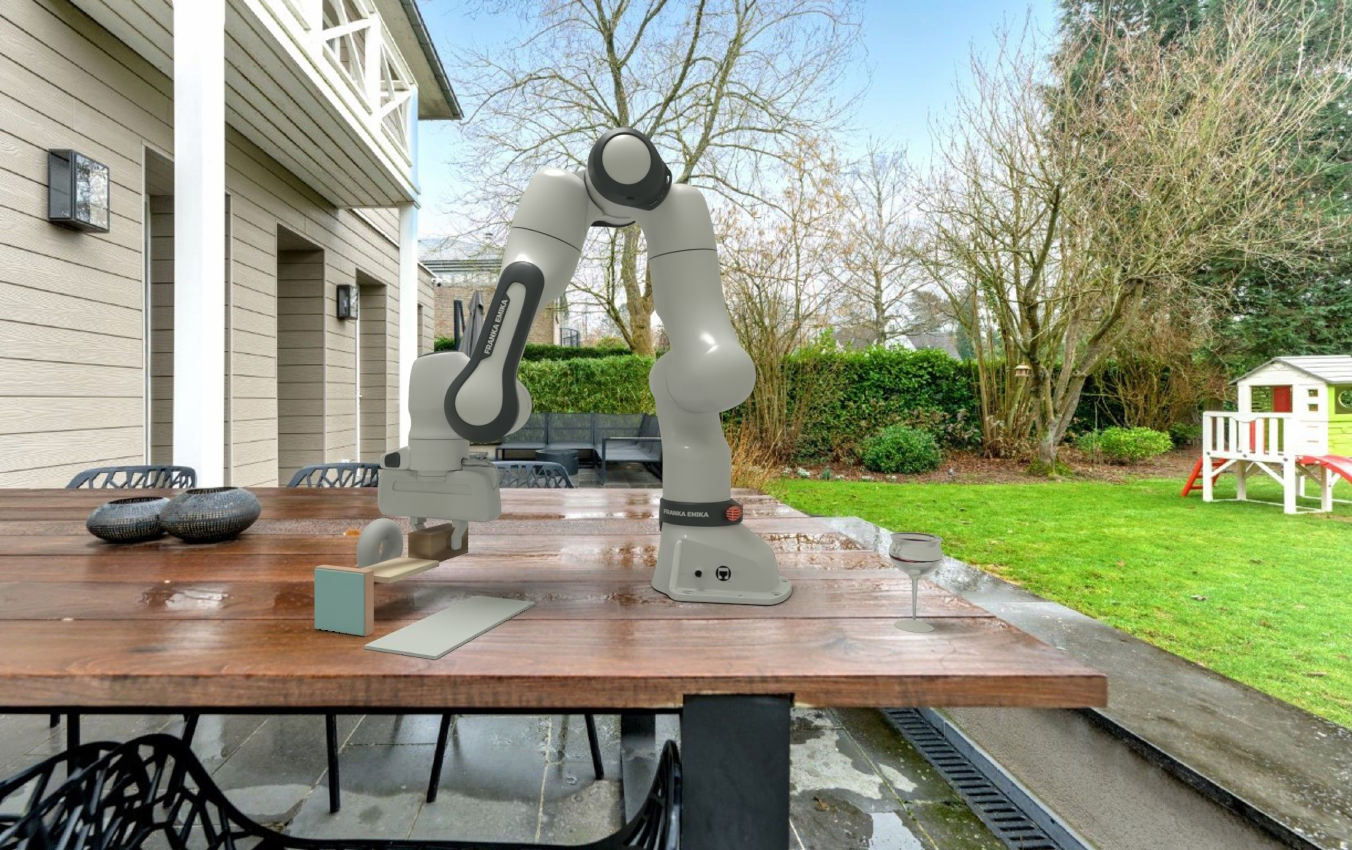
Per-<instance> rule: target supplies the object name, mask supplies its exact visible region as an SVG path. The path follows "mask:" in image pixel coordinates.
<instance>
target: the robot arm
mask: <svg viewBox="0 0 1352 850" xmlns="http://www.w3.org/2000/svg"><path fill="white" fill-rule="evenodd" d="M588 154H589V155H588V158H587V164H586V167H585V168H584V169H581V170H580V171H579V170H578V171H569V170H567V169H564V168H560V167H545V168H542V169H541V170H538V171H537V172H536V173H535V174H534V175H533V176H532V178H531V180H530V181H529V183H528V185H527V187H526V188H525V191H524V193H523V195H522V196H521V199H520V201H519V204H518V206H517V209H516V211H515V214H514V216H513V220H512V223H511V225H510V228H509V229H510V230H509V232H508V235H507V236H508V237H507V238H506V239H507V240H506V244H505V248H504V252H503V256H502V261H501V267H500V271H499V275H498V279H497V283H496V289H495V291H494V294H493V297H492V299H491V301H490V305H489V308H488V310H487V313H486V316H485V319H484V321H483V323H482V324H483V325H482V328H481V331H480V333H479V336H478V340H477V342H476V345H475V347H474V349H473V353H472V355H471V356H470V357H469V356H468V355H467V354H465V352H463V351H459V350H452V349H451V350H438V351H433V352H428V353H424V354H421V355H420V356H418V357H417V358H416V359H415V360H414V361H413V363H412V365H411V370H410V376H409V382H408V383H409V385H408V397H407V399H408V401H407V402H408V403H407V410H408V414H409V417H410V428H409V431H408V435H407V445H406V446H403V447H400V448H397V449H394V450H391V451H389V452H385V453H382V454H381V455H380V457H379V466H380V468H381V469H383V470H381V472H380V473H379V476H378V480H377V481H378V483H377V508H378V510H379V512H380V513H381V514H382V515H383V516H395V517H405V518H406V517H407V518H408V517H409V524H410V527H411V529H412V530H413V531H412V532H414V531H417V530H421V529H425V528H426V526H425V523H427V519H434V520H446V521H447V520H448V521H449V520H450V521H451V523H452V527H455V530H454V532H453V534H452V536H451V537H448V538H446V543H447V545H446V548H447V549H453V550H456V549H460V548H461V540H462V536H463V534H464V532H465V531H466V529H467V527H468V528H469V522H472V523H473V522H474V523H490V522H492V521H496V520H497V519H499V518H500V516H501V513H502V499H501V492H500V491H501V489H500V484H499V481H500V480H499V479H500V471H499V468H498V467H497V466H496V464H495V463H493V462H492V461H491V460H489V459H486V458H484V459H483V458H482V459H476V458H470V442H471V443H477V444H489V443H493V442H495V441H498V440H500V439H502V438H503V437H506V436H509V435H511V434H513V433H516V432H517V431H519V430H520V429H522V428H523V427H524V426H525V425H526V424H527V423H528V421H529V419H530V417H531V415H532V411H533V398H532V395H531V393H530V391H529V389H528V388H527V387H526V386H525V385H524V383H522V382H521V381H519V380H518V379H517V377H518V376H517V375H518V372H519V371H518V370H519V368H520V364H521V361H522V358H523V355H524V353H525V350H526V346H527V343H528V341H529V337H530V334H531V332H532V328H533V326H534V323H535V322H536V319H537V318H538V316H539V315H540V313H541V312H542V311H543V310H544V309H545V307H546V306H548V305H549V304H550V303H552V302H554V301H555V300H557V299H559V298H560V297H561V296H563V295H564V294H565V292H566V291H567V289H568V287H569V285H570V283H571V281H572V279H573V277H574V274H575V272H576V269H577V267H578V265H579V262H580V257H581V256H582V255H581V254H582V251H583V249H584V244H585V241H586V237H587V235H588V232H589V229H590V228H591V227H594V228H612V229H613V228H614V229H619V228H620V229H621V228H628V227H629V226H631V225H634V224H637V225H638V226H639V227H640V229H641V231H642V233H643V236H644V239H645V242H646V250H647V252H646V253H647V261H648V269H649V275H650V283H651V290H652V299H653V300H652V301H653V305H654V306H653V307H654V311H655V313H656V314H657V316H658V317H659V319H660V321H661V322H662V325H663V328H664V329H665V332H666V335H667V337H668V342H669V344H670V347H671V348H670V350H668V351H666V352H665V353H664V354H663V355H661V356H660V357H659V358H658V359H657V360H656V361H655V362H654V364H653V365H652V367H651V369H650V371H649V374H648V386H649V390H650V393H651V394H652V396H653V398H654V403H655V409H656V416H657V421H658V423H657V424H658V426H659V433H660V438H661V448H662V450H661V451H662V496H661V497H660V499H659V508H658V525H659V526H658V527H659V532H660V537H659V538H660V539H659V540H660V541H659V547H658V555H657V561H656V565H655V570H654V573H653V576H652V579H651V583H650V584H651V586H652V588H654V589H655V590H656V591H659V592H661V593H663V594H665V595H668V597H669V598H670V599H672V600H674V601H678V602H679V601H680V602H700V603H702V602H703V603H704V602H705V603H720V604H721V603H722V604H743V605H744V604H746V605H747V604H748V605H765V606H766V605H767V606H769V605H776V604H780V603H781V602H784V601H786V600H787V599H789V597H790V596H791V595H792V592H793V584H792V582H791V580H790V579H789V578H787V577H785V576H782V575H779V568H778V561H777V557H776V553H775V551H774V549H773V547H771V545H770V544H768V543H767V542H766V541H764V540H763V539H762V538H761V537H759V536H758V535H757V534H756V533H755V532H753V531H752V530H751V529H750V528H749V527H748V526H746V525H745V524H744V523H743V522H744V520H743V519H744V510H745V508H744V507H745V505H744V503H743V502H741V503H739V502H738V501H736V500H734V499H733V498H732V496H731V495H732V493H731V492H732V450H731V447H730V444H729V443H728V441H727V440H726V438H725V435H724V431H723V428H722V423H721V418H720V413H723V412H726V411H728V410H731V409H733V408H736V407H737V406H739V405H742V404H743V403H744V402H745V401H746V400H747V399H748V398H749V397H750V395H751V394H752V392H753V390H754V388H755V384H756V380H757V378H756V377H757V374H756V371H757V370H756V367H755V363H754V361H753V359H752V357H751V355H750V354H749V353H748V352H747V351H746V350H745V349H744V348H743V347H742V345H741V343H740V342H739V341H740V340H738V336H737V334H736V332H735V329H734V327H733V324H732V322H731V319H730V316H729V313H728V310H727V307H726V306H727V305H726V302H725V298H724V291H723V285H722V277H721V270H720V263H719V254H718V247H717V241H716V240H717V239H716V234H715V229H714V226H713V221H712V216H711V213H710V210H709V206H708V204H707V201H706V198H705V195H704V194H703V193H702V192H701V190H700V189H698V188H697V187H695V186H693V185H690V184H687V183H673V173H672V171H671V169H670V168H669V167H668V165H667V164H666V162H665V161H664V160H663V158H662V156H661V155H660V153H659V150H658V149H657V147H656V146H655V144H654V143H653V142H652V140H651V139H650V138H649V137H648V136H647V135H645V133H643V132H642V131H641V130H637V129H635V128H633V127H627V126H625V127H624V126H621V127H617V128H613V129H610V130H608V131H606V132H605V133H603V134H602V135H601V136H600V137H599V138H598V139H597V140H596V141H595V143H594V144H593V146H592V147H591V149H590V152H589V153H588Z"/></svg>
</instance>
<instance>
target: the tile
mask: <svg viewBox="0 0 1352 850" xmlns="http://www.w3.org/2000/svg"><path fill="white" fill-rule="evenodd" d="M313 576H314V581H313V582H314V629H315V630H319V629H321V631H325V630H328V631H327V632H332V631H335V632H334V633H339V632H340V634H346V633H347V634H348V635H354V636H361V637H368V636H370V635H372V633H373V634H374V633H375V632H374V631H375V630H374V629H375V626H374V624H375V622H374V621H375V619H374V618H375V617H374V616H375V612H374V611H375V610H374V609H375V608H374V607H375V605H374V604H375V603H374V601H375V596H374V595H375V594H374V593H375V592H374V589H375V584H374V583H375V582H374V570H368V569H359V567H358V568H357V567H349V566H348V567H347V566H342V565H341V566H339V565H337V566H336V565H329V564H322V565H317V566H314V575H313ZM347 634H346V635H347ZM367 635H368V636H367Z"/></svg>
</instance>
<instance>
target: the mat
mask: <svg viewBox="0 0 1352 850" xmlns="http://www.w3.org/2000/svg"><path fill="white" fill-rule="evenodd" d="M533 605H534V606H535V605H536V602H535V601H530V600H529V601H528V600H519V599H513V598H505V597H504V598H502V597H495V596H484V595H473V596H471V597H468V598H466V599H464V600H462V601H460V602H457V603H455V604H453V605H451V606H449V607H446V608H444V609H442V610H440V611H437V612H435V613H433V614H431V615H429V616H427V617H424V618H422V619H419V620H418V621H415V622H413V623H411V624H409V625H406V626H404V627H402V628H399V629H398V630H395V631H393V632H391V633H388V634H386V635H384V636H381V637H380V638H378V639H375V640H373V641H370V642H368V643H365V645H364V646H363V649H364V650H369V651H377V652H384V653H389V654H395V655H396V654H397V655H402V654H403V656H408V657H414V658H415V657H416V658H424V659H429V660H435V661H436V660H438V659H440V658H441V657H444V656H445V655H447V654H449V653H451V652H452V651H454V650H456V649H458V648H459V647H462V646H463V645H465V644H467V643H468V641H469V642H470V641H472V640H474V639H476V638H477V636H478V637H480V636H481V635H483V634H484V633H485V634H486V633H487V632H488V631H490V630H492V629H494V628H496V627H497V626H499V625H501V624H503V623H505V622H507V621H508V620H510V619H512V618H514V617H516V616H517V615H519V614H521V613H523V612H525V611H526V610H528V609H530V608H532V607H534V606H533ZM524 610H525V611H524ZM522 611H523V612H522ZM520 612H521V613H520ZM515 615H516V616H515ZM513 616H514V617H513ZM511 617H512V618H511ZM506 620H507V621H506ZM504 621H505V622H504ZM486 631H487V632H486ZM475 637H476V638H475ZM473 638H474V639H473ZM457 647H458V648H457Z"/></svg>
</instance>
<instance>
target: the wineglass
mask: <svg viewBox="0 0 1352 850" xmlns="http://www.w3.org/2000/svg"><path fill="white" fill-rule="evenodd" d="M889 536H890V538H891V543H890V545H889V549H888V555H889V557H890V561H891V562H892V563H893V564H894V565H895V567H896V568H897V570H899V571H900V572H902V573H905V574H906V575H908V577H909V579H910V580H911V604H912V607H911V608H912V610H911V611H912V619H902V620H901V619H900V620H897V621H894V626H895V627H897V629H900V630H902V631H906V632H911V633H929V632H933V631H934V628H935V627H934V626H933V625H931V624H929V623H927V622H925V621H921V620H918V619H917V604H918V603H917V602H918V587H919V580H921V579H922V578H923V577H924V576H926V575H928V574H932V573H933V572H934V571H935V570H936V569H937V568H938V567H939V566H940V564H941V563H942V560H943V556H944V555H943V553H944V552H943V549H942V547H941V543H942V541H943V537H941V536H939V535H937V534H936V535H935V534H930V533H924V532H914V531H912V532H910V531H900V532H892V533H890V534H889Z"/></svg>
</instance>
